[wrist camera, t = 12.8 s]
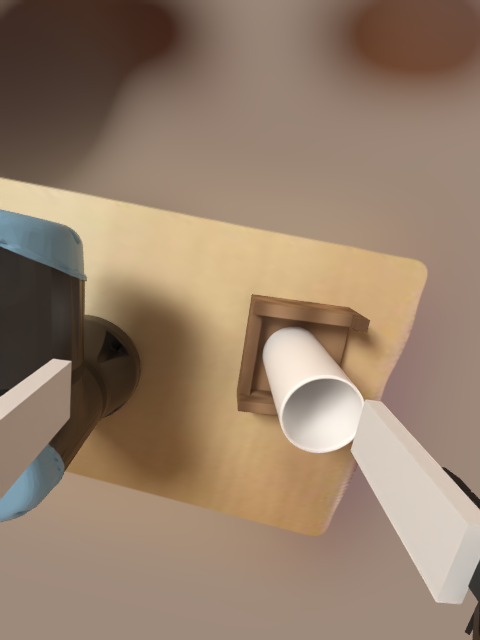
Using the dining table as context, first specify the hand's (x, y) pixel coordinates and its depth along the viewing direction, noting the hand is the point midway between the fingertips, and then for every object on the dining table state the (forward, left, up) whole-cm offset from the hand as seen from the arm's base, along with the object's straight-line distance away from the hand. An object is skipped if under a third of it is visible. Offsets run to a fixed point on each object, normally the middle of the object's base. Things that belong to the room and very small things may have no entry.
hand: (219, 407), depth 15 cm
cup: (+10, -8, -30) cm, 33 cm away
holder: (+11, -8, -32) cm, 34 cm away
